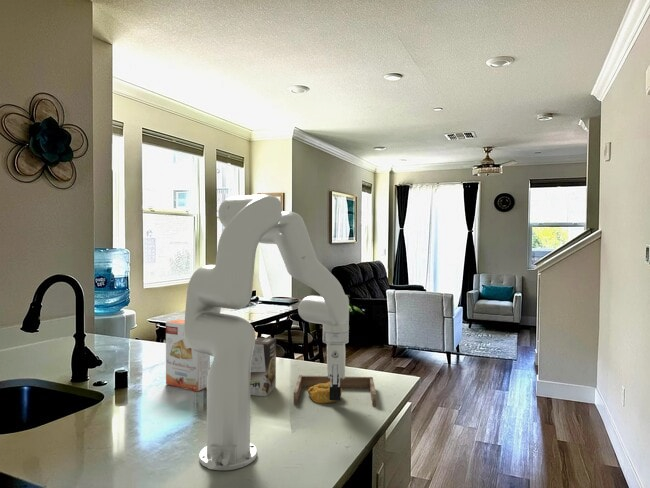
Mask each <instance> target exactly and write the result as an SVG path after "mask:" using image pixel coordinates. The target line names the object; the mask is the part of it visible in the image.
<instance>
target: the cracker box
mask: <svg viewBox="0 0 650 488" xmlns="http://www.w3.org/2000/svg"><path fill="white" fill-rule="evenodd" d="M184 322H185V319H180V318H177V319H173V320H168V321H165V384H166V385H168V386H172V387H177V388H181V389H185V390H189V391H193V392H201V391H202V390H205V389H207V375H208V372H209V369H210V367H211V359H210V357H211V355H208V354H204V353H200V352H197V351H195V350H193V349H191V348H190V347H189V346H188V344H187V343H186V340H185V336H184Z"/></svg>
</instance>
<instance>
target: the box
mask: <svg viewBox="0 0 650 488" xmlns="http://www.w3.org/2000/svg"><path fill="white" fill-rule="evenodd" d="M328 382H330V379H329V378H328V375H300V374H299V375H298V377H297V380H296V383H295V387H294V390H293V405H297V404H298V401H299V399H300V395H301V391H302V388H310V387H312V386H314V385H317V384H320V383H328ZM340 385H341V389H359V390H360V389H362V390H363V389H364V390H366V389H368V390H369V393H370V399H371V406H372V407H377V391H376V387H375V381H374V377H373V376H346V375H345V378H344V379H343V378H340Z"/></svg>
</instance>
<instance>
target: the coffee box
mask: <svg viewBox="0 0 650 488" xmlns="http://www.w3.org/2000/svg"><path fill="white" fill-rule="evenodd" d="M276 371H277V338H275V337H256V338H255V345H254V350H253V355H252V361H251V375H250V396H259V397H268V396H269V395H270V394H271V393H272V392H273V391H274V389H276V385H277V383H276V381H277V378H276V377H277V372H276Z"/></svg>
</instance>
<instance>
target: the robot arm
mask: <svg viewBox="0 0 650 488" xmlns="http://www.w3.org/2000/svg"><path fill="white" fill-rule="evenodd" d="M218 218H219V221H220V224H221V225H222V226H223V227H224V229H223V230H222V232H221V234H220V237H219V241H218V243H217V251H216V252H217V253H216V257H215V263H214V264H205V265H203V266H200V267H199V268H197V269H196V270H195V271H194V272H193V273H192V275H191V277H190V279H189V282H188V285H187V291H186V300H185V312H184V320H185V322H184V336H185V340H186V343H187V344H188V346H189V347H190V348H191V349H193V350H195V351H197V352H200V353H204V354H208V355H210V357H211V356H212V357H213V360H212V363H211V364H210V369H209V372H208V375H207V388H206V445H205V447H203V448H202V449H201V450H200V452H199V454H198V455H199V458H198V460H199V463H200V464H201V465H202V466H203V467H205V468H208V469H209V470H214V471H233V470H238V469H241V468H242V469H243V468H244V467H246V466H249V465H250V464H251V463H253V462H254V461H255V460H256V458H257V456H258V449H257V446H256V445H255V444H254V443H251V395H250V375H251V361H252V355H253V350H254V345H255V339H256V332H255V329H254V327H253V325H252V324H251V322H249V320H247V319H245V318H243V317H240V316H237V315H233V314H227V313H221V308H222V309H228V310H240V309H244V308H245V307H246V306H247V305H249V303H250V302H251V298H252V293H253V287H254V275H255V263H256V254H257V248H258V245H259V244H265V245H266V244H268V245H269V244H270V245H275V246H276V245H277V248H278V250H279V252H280V255H281V258H282V260H283V261H282V262H284V266H285V268H286V271H287V273H288V274H289V275H290V277H292V278H294V279H296V280H297V281H299V282H300V283H302V284H304V285H305V286H307V287H309V288H312V290H314V291H315V292H316V293H317V294H319V295H315V294H313V295H308V296H305V297H304V298H302V299H301V301H300V302H299V304H298V307H297V312H298V315H299V317H300V318H301V319H302V320H303V321H305V322H308V323H313V324H319V325H320V324H321V325H322V343H324V344H326V366H327V367H326V368H327V370H326V372H327V376H328V378H329V379H330V400H337V401H338V402H339V401H341V399H342V398H341V397H342V394H341V389H342V388H341V385H340V378H343V379H344V378H345V376H346V344H348V343H349V338H350V337H349V335H350V334H349V333H350V331H349V330H350V325H349V323H350V322H349V321H350V299H349V297H348V295H346V293H345V291H344V289H343V285H342V284H341V283H340V281H339V280H338V278H336V277H335V276H334V274H332V272H330V270H329V269H328V268H327V267H325V266H324V265H323V264H322V263H321V262H320V261H319V259H318V257H317V253H316V251H315V248H314V246H313V243H312V241H311V238H310V234H309V232H308V228H307V226H306V224H305V221H304V219H303V217H302V216H301V215H300V214H299V213H297V212H294V211H286V210H285V211H284V210H283V204H282V202H281V200H280V199H279V198H277V196H274V195H272V194H251V195H250V194H247V195H235V196H230V197H227V198H225V199H224V200H223V201H222V202H221V204H220V206H219V207H218ZM337 401H336V402H337Z"/></svg>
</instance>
